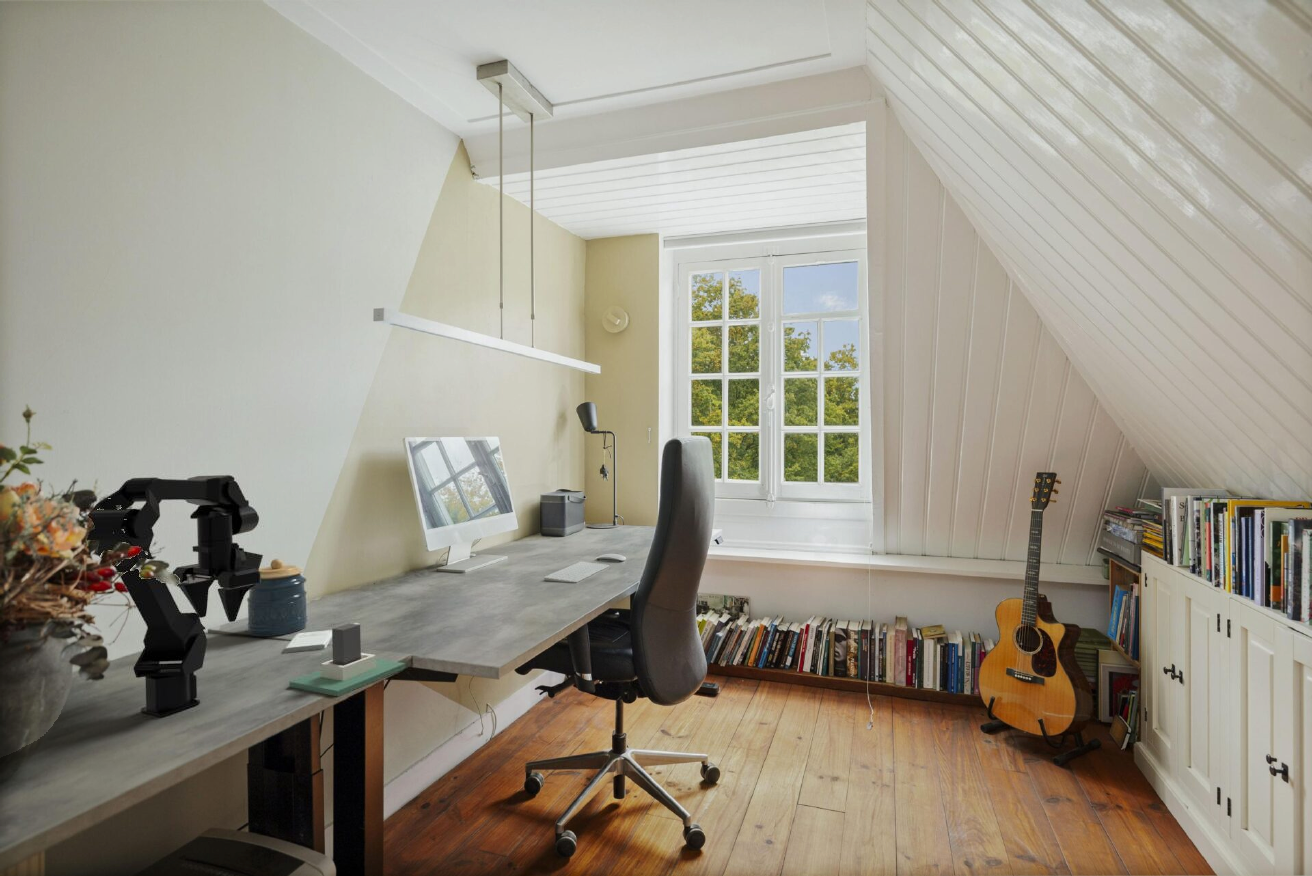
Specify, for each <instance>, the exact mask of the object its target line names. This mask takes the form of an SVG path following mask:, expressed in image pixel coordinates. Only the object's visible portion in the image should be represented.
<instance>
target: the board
mask: <svg viewBox="0 0 1312 876" xmlns="http://www.w3.org/2000/svg"><path fill="white" fill-rule="evenodd" d="M404 669H406V663H403V662H398V661H392V660H386V659H381V658H377V655H376V654H372V653H371V654H370V653H366V652H361V659H360V660H358V661H355V662H352V663H350V664H347V665H344V666H342V665H336V664H333V659H331V660H328V661H325V662H322V663H320V670H317V671H314V672H312V673H309V674H307V675H304V676H301V677H298V678H295V679H292V680H290V681H289V688H292V689H299V690H304V691H308V692H314V693H319V694H324V695H330V696H332V697H333V696H334V697H340V696H343V695H345V694H347V693H350V692H352V691H355V690H357V689H359V688H361V687H364V686H365V685H366V686H367V685H369V684H371V683H374V682H375V681H378V680H381V679H383V678H386V677H388V676H390V675H392V674H396V673H398V672H400V671H402V670H404Z"/></svg>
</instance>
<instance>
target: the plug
mask: <svg viewBox="0 0 1312 876" xmlns="http://www.w3.org/2000/svg"><path fill="white" fill-rule="evenodd" d="M331 630H332V638H331V640H332V647H331V648H332V660H333V664H336V665H342V666H344V665H347V664H350V663H352V662H355V661H358V660H360V659H361V653H362V648H361V647H362V646H361V645H362V644H361V642H362V639H361V637H362V635H361V623H359V622H354V623H345V624H343V625H340V626H337V627H334V628H333V627H332V628H331Z"/></svg>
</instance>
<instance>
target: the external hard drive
mask: <svg viewBox="0 0 1312 876" xmlns="http://www.w3.org/2000/svg"><path fill="white" fill-rule="evenodd" d="M331 640H332V629H328V630H327V629H326V630H320V631H319V630H318V631H309V632H308V631H307V632H300V633H296V635H294V637H293V638H292V639H291V640H290V642H289V643H288V644H287V645H286V646H285V648H284V651H283V652H284V654H286V653H298V652H307V651H317V650H326V648H327V646H328V644H329V643H330V642H331Z"/></svg>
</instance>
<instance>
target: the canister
mask: <svg viewBox="0 0 1312 876" xmlns="http://www.w3.org/2000/svg"><path fill="white" fill-rule="evenodd" d="M283 563H284V562H283V561H282V560H281V559H279V558H274V559H273V560H272V561H271V562H270V566H266V567H261V568H259V571H260V572H261V582H259V583H256V586H255V587H251V588H250V589H249V590H248V591H249V595H248V597H247V599H246V601H247V618H248V619H247V630H248V634H249V636H252V637H274V636H282V635H287V634H292V633H294V632H298V631H300V630H303V629H305V628H306V627H307V622H308V615H307V591H306V590H305V583H307V578H306V577H304V576H302V573H303V569H301V568H299V567H297V566H296V565H291V564H287V565H286V564H285V565H283Z"/></svg>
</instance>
